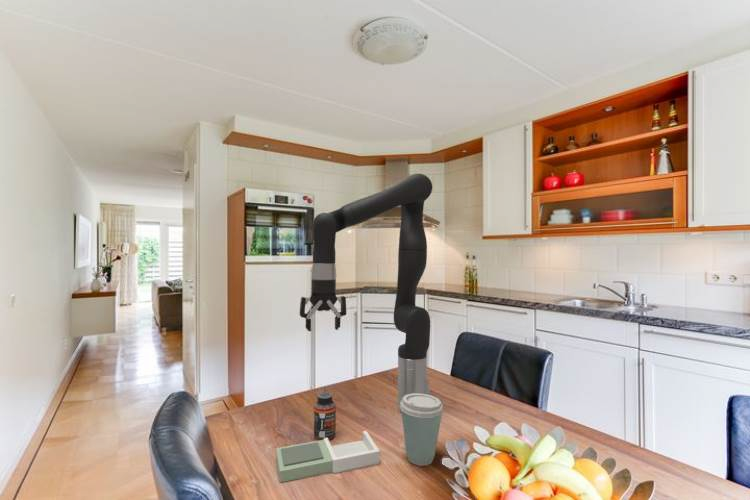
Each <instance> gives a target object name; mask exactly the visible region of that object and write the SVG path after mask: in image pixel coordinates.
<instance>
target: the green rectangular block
mask: <svg viewBox="0 0 750 500" xmlns="http://www.w3.org/2000/svg"><path fill="white" fill-rule="evenodd" d="M275 452H276V453H275V455H276V457H275V460H276V464H277V465H276V466H277V471H278V478H279V483H281V484H282V483H284V482H285V483H286V482H290V481H294V480H298V479H303V478H309V477H314V476H317V475H322V474H328V473H331V472H332V459H331V457H330V454H329V452H328V449H327V447H326V445H325V442H324V440H313V441H308V442H304V443H297V444H292V445H287V446H281V447H276V448H275ZM332 473H333V472H332Z"/></svg>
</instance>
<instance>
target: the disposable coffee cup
mask: <svg viewBox="0 0 750 500" xmlns="http://www.w3.org/2000/svg"><path fill="white" fill-rule="evenodd" d="M400 408H401V412H400V413H401V419H402V426H403V427H402V429H403V437H404V444H405V452H406V456H407V459H408V461H409V462H410V463H411V464H412V465H416V466H419V467H421V466H429V465H430V464H432V463H433V461H434V459H435V456H436V449H437V445H438V438H439V432H440V428H441V427H440V426H441V423H442V422H441V421H442V414H443V412H444V405H443V403H442V401H441V400H440V399H439V398H437V397H436V396H433V395H431V394H430V395H427V394H419V393H412V394H407V395H405V396H404V397H403V398H402V401H401V402H400Z"/></svg>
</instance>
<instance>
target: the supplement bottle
mask: <svg viewBox="0 0 750 500" xmlns="http://www.w3.org/2000/svg"><path fill="white" fill-rule="evenodd" d="M313 405H314V406H313V409H314V410H313V437H314V438H315V439H316V440H317V441H319V440H324V438H328V440H329V441H330V440H332V439H333V438H335V436H336V431H337V430H336V417H337V416H336V415H337V414H336V412H337V411H336V409H337V408H336V407H337V406H336V402H335V401H334V400H333V393H330V392H321V393H318V395H317V401H316V402H315V403H314V404H313Z"/></svg>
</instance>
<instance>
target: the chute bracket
mask: <svg viewBox="0 0 750 500" xmlns="http://www.w3.org/2000/svg"><path fill="white" fill-rule="evenodd" d="M324 442H325V445H326V447H327V449H328V452H329V454H330V457H331V459H332V474H336V473H337V474H338V473H341V472H346V471H347V472H348V471H351V470H356V469H361V468H365V467H370V466H375V465H380V464H381V454H380V453H381V451H380V449H379V448H378V445H376V443H375V441H374V440H373V439H372V437H371V436H370V434H369V433H368V431H367V430H363V431H362V440H357V441H352V442H345V443H340V444H335V445H332V444H331V442H330V440H328V438H324Z"/></svg>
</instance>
